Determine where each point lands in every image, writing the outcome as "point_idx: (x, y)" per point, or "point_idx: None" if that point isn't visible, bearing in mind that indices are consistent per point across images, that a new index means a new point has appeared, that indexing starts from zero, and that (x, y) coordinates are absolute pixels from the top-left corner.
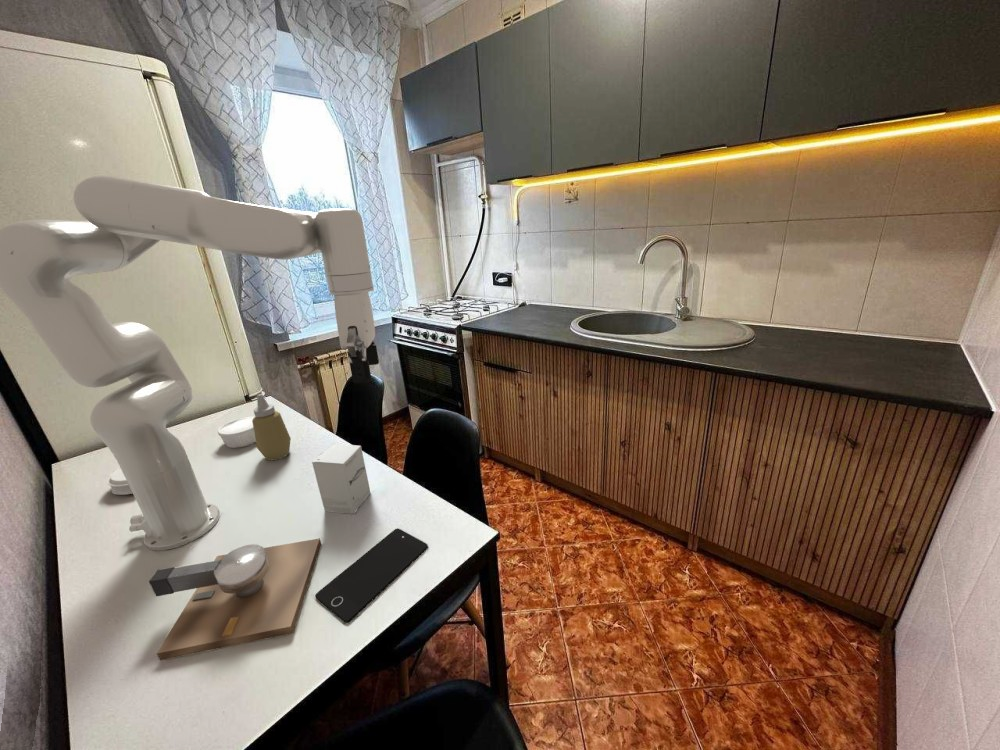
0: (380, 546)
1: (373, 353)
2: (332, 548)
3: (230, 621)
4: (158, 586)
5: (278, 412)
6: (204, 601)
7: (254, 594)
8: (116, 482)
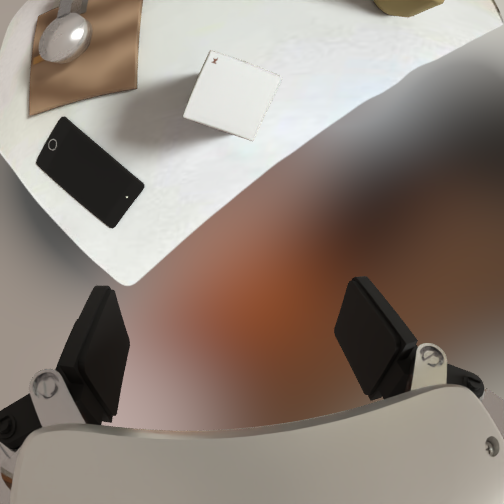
0: (114, 171)
1: (357, 362)
2: (126, 105)
3: None
4: None
5: (439, 2)
6: None
7: None
8: None
